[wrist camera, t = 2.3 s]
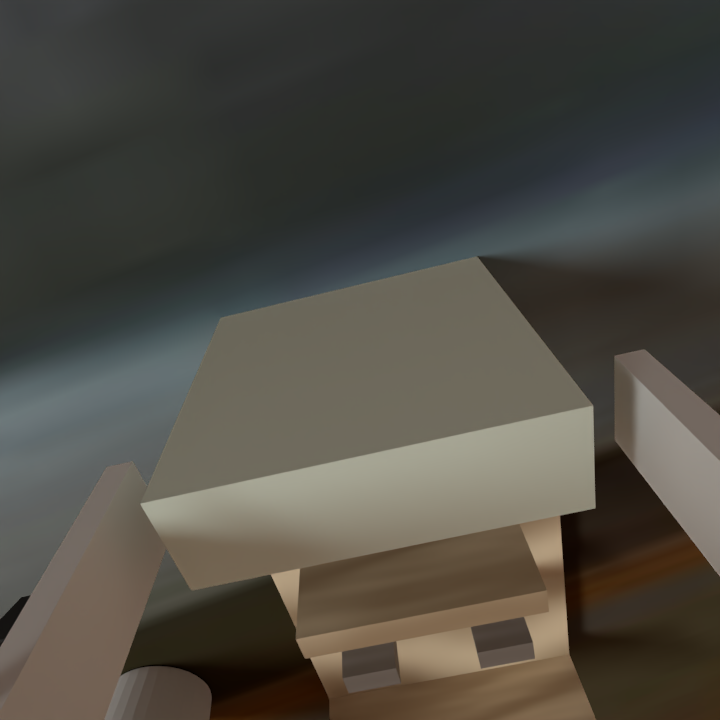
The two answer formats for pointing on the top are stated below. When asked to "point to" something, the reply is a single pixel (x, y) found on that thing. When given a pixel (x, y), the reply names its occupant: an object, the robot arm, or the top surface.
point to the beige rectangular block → (368, 429)
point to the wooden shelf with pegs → (442, 629)
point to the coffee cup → (160, 695)
